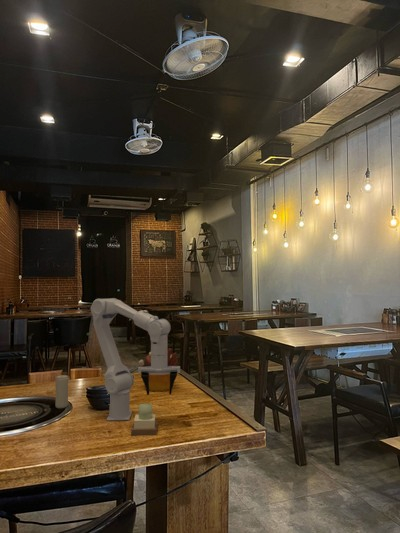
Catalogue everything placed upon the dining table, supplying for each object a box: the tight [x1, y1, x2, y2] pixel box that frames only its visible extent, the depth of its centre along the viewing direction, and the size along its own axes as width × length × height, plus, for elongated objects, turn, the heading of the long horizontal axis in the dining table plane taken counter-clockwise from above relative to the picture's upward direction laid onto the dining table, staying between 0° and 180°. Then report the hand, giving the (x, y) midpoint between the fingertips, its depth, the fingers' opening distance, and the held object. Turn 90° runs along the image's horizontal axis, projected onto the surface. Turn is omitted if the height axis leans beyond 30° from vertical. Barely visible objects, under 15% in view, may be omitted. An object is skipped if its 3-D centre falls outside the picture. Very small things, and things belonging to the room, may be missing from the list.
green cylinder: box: [138, 402, 153, 420], centre depth 130 cm, size 4×4×4 cm
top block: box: [133, 413, 156, 429], centre depth 131 cm, size 6×6×2 cm
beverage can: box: [54, 374, 69, 409], centre depth 158 cm, size 5×5×12 cm
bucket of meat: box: [138, 347, 179, 393], centre depth 186 cm, size 20×16×20 cm
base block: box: [130, 420, 159, 437], centre depth 130 cm, size 8×8×2 cm
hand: (159, 394), depth 137 cm, fingers open, 7 cm apart
